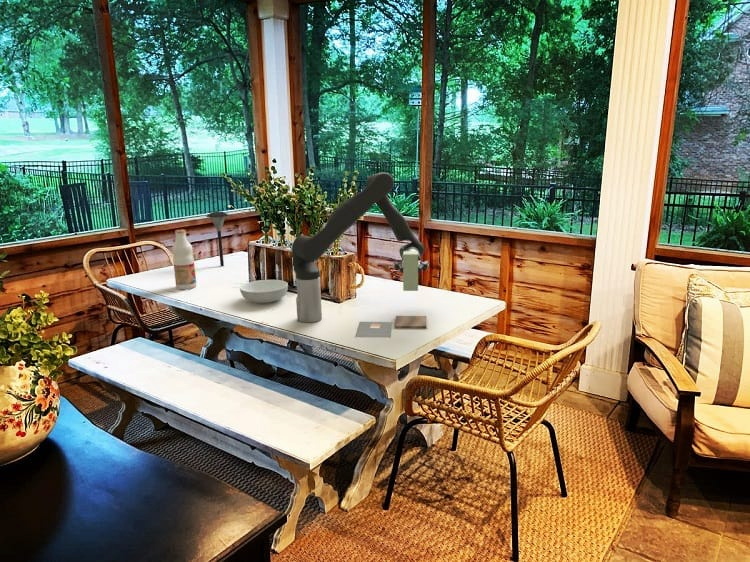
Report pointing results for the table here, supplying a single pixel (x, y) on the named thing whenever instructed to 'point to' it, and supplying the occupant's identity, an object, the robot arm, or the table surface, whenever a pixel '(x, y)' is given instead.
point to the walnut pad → (411, 322)
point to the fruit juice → (183, 262)
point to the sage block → (410, 270)
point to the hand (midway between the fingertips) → (410, 270)
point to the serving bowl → (264, 290)
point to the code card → (374, 330)
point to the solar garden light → (218, 229)
